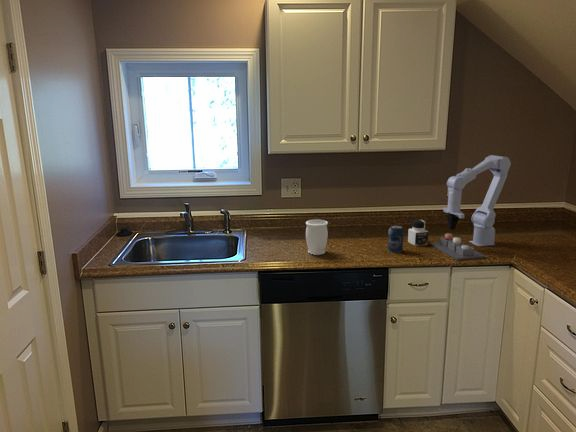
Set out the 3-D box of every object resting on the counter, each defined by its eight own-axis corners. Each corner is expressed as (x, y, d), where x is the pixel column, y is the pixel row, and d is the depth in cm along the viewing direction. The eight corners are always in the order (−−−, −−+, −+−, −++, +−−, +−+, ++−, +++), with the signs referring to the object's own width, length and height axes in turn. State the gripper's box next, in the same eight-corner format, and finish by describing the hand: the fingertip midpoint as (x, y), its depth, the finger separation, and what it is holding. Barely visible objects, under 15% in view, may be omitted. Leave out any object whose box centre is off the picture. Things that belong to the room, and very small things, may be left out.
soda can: (387, 252, 212) (389, 228, 209) (387, 248, 219) (388, 224, 216) (403, 253, 211) (404, 229, 208) (401, 249, 217) (403, 225, 214)
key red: (449, 238, 222) (450, 233, 221) (453, 241, 218) (454, 235, 218) (443, 239, 221) (443, 233, 220) (447, 241, 218) (447, 235, 217)
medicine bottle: (415, 246, 221) (416, 222, 218) (407, 242, 228) (408, 219, 225) (427, 244, 223) (429, 221, 220) (420, 240, 230) (421, 218, 227)
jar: (305, 248, 219) (305, 219, 215) (326, 248, 219) (327, 219, 215) (305, 256, 209) (305, 225, 205) (328, 256, 209) (328, 225, 205)
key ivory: (457, 243, 215) (458, 237, 214) (462, 245, 212) (462, 239, 211) (450, 243, 214) (451, 237, 214) (455, 245, 211) (455, 239, 210)
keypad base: (454, 242, 227) (455, 234, 226) (484, 257, 204) (485, 249, 203) (429, 244, 224) (430, 236, 223) (457, 260, 201) (457, 251, 200)
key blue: (466, 251, 209) (466, 244, 208) (470, 253, 205) (471, 247, 205) (459, 251, 208) (459, 245, 207) (463, 254, 205) (464, 247, 204)
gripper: (438, 199, 219) (436, 226, 222) (455, 205, 205) (453, 234, 208) (451, 198, 220) (449, 225, 223) (469, 204, 206) (466, 233, 210)
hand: (452, 229), depth 216 cm, fingers closed
